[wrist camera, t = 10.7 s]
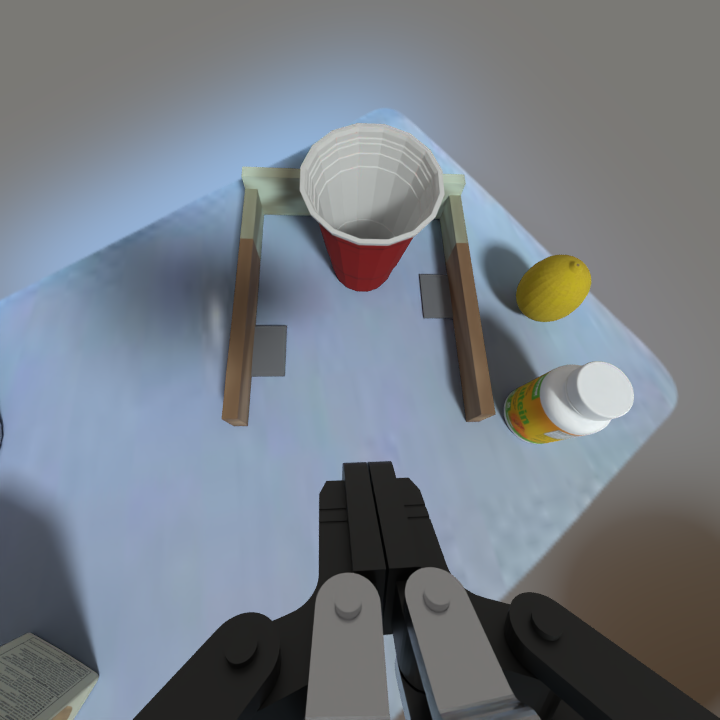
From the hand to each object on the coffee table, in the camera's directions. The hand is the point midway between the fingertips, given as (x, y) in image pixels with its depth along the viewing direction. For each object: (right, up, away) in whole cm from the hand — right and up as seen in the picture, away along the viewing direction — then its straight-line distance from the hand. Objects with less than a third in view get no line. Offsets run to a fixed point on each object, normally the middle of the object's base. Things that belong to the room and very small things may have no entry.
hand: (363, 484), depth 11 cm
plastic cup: (0, +13, +26) cm, 29 cm away
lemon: (+17, +9, +26) cm, 32 cm away
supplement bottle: (+16, -1, +22) cm, 27 cm away
